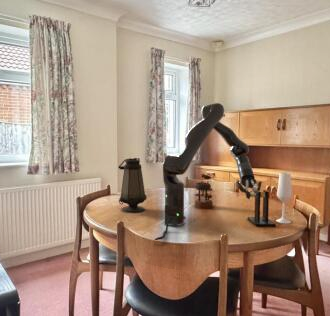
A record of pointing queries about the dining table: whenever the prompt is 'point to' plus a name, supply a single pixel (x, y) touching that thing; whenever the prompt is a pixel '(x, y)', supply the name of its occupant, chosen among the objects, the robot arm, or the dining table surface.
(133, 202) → the lantern
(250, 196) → the latch lever
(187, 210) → the dining table surface
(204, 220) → the dining table surface
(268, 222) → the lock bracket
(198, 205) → the dark brown tall piece
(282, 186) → the champagne flute
